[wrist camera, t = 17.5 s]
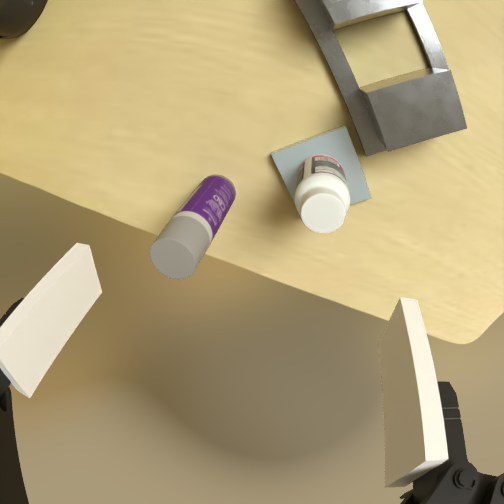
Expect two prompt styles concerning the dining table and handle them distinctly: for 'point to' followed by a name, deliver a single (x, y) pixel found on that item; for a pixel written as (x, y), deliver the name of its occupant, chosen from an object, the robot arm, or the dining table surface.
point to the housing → (393, 89)
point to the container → (192, 228)
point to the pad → (328, 144)
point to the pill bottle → (322, 194)
